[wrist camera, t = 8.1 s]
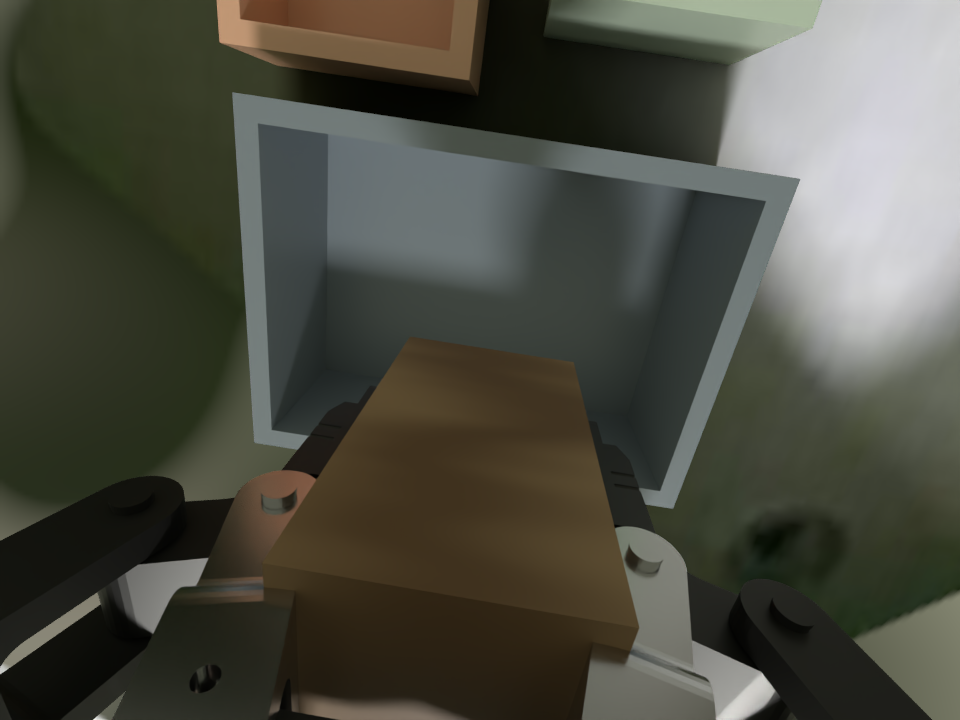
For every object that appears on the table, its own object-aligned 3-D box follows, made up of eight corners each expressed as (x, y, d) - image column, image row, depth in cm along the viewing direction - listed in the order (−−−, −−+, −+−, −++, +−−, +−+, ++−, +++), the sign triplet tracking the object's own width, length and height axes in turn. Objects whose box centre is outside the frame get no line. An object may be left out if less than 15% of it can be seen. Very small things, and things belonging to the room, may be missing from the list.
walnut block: (573, 362, 11) (638, 628, 5) (542, 494, 13) (561, 827, 6) (410, 336, 11) (262, 562, 5) (399, 470, 13) (277, 774, 7)
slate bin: (715, 173, 22) (800, 178, 15) (635, 425, 27) (672, 508, 20) (316, 112, 22) (232, 92, 15) (315, 375, 27) (254, 442, 21)
